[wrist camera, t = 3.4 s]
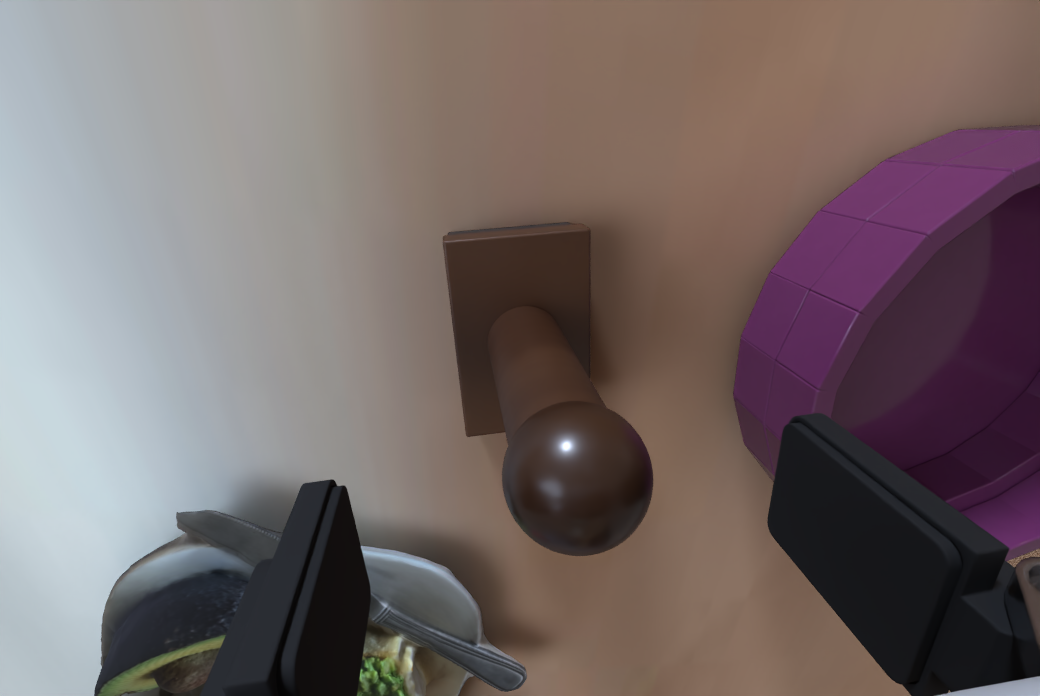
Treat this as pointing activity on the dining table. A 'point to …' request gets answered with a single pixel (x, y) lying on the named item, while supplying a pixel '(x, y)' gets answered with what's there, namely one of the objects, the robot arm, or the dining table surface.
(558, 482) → the wall coat peg
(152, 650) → the salad plate
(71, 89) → the dining table surface
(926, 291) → the bowl
